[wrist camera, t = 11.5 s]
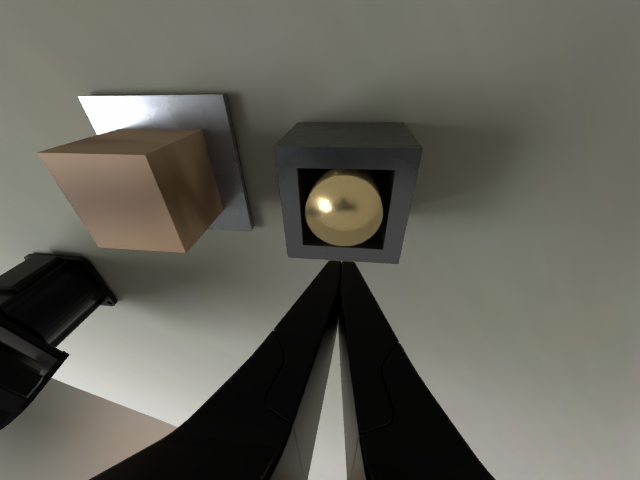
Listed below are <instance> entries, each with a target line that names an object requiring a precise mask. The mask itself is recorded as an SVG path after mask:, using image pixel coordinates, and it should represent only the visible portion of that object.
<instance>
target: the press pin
mask: <svg viewBox="0 0 640 480" xmlns="http://www.w3.org/2000/svg"><path fill="white" fill-rule="evenodd" d="M305 215H306V220H307V223H308V225H309V227H310V229H311V230H312V232H313V233H314V234H315V235H316V236H317V237H319V238H320V239H321V240H323V241H325V242H327V243H330V244H333V245H337V246H352V245H357V244H360V243H362V242H364V241H366V240H368V239H369V238H370V237H372V236H373V235H374V234H375V233H376V231H377V230H378V228H379V226H380V224H381V222H382V217H383V208H382V202H381V196H380V190H379V184H378V178H377V172H376V170H368V169H320V168H319V170H318V172H317V175H316V178H315V181H314V183H313V186H312V189H311V192H310V195H309V197H308V200H307V203H306V208H305Z"/></svg>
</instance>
